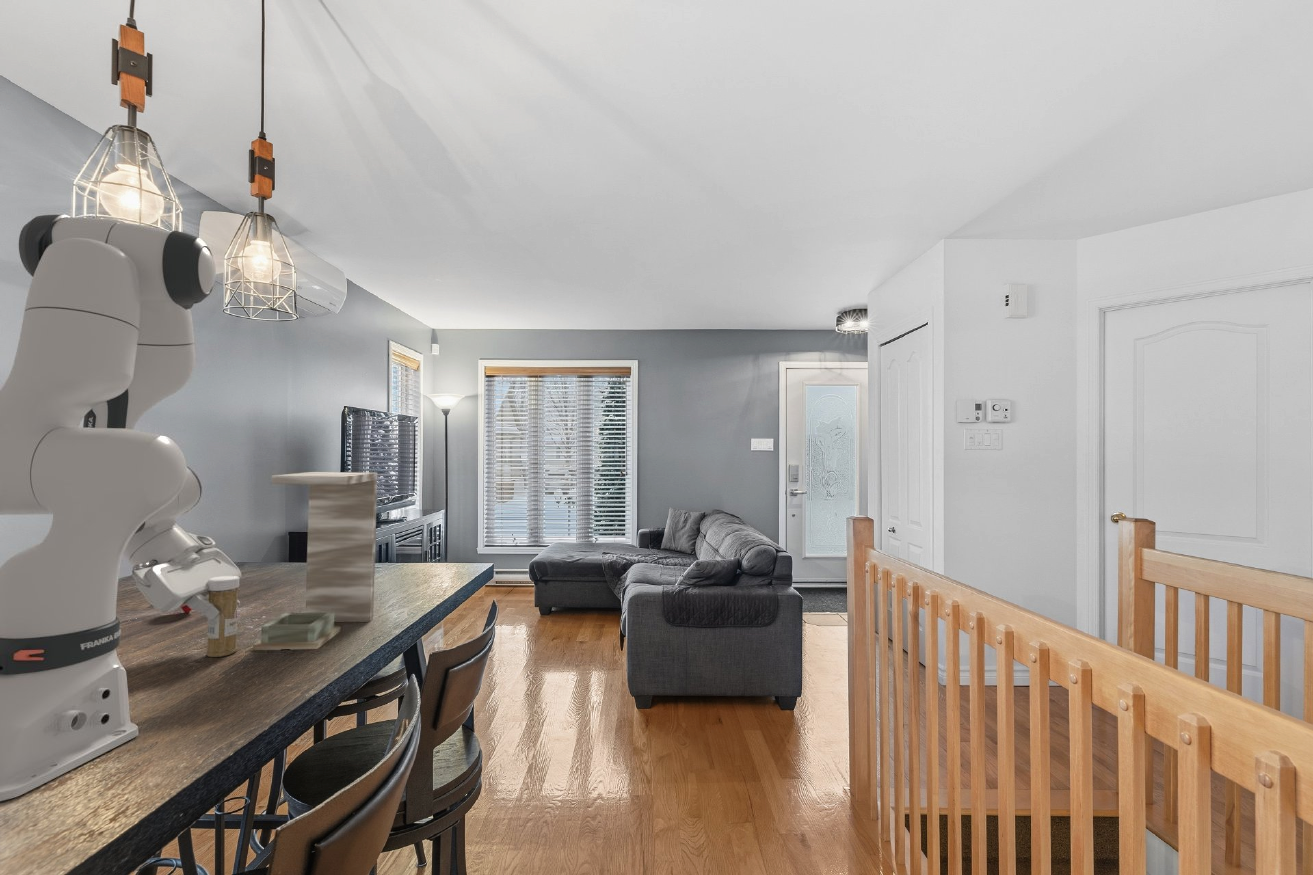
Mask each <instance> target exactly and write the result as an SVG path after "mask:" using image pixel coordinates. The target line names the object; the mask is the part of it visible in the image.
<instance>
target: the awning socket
mask: <svg viewBox="0 0 1313 875" xmlns="http://www.w3.org/2000/svg"><path fill="white" fill-rule="evenodd" d="M270 480H271V484H272V485H308V489H309V490H308V512H307V513H308V515H307V516H308V517H307V548H306V549H307V551H306V576H305V577H306V580H305V581H306V582H305V584H306V585H305V610H304V611H305V612H291V613H290V612H289V613H287V612H285V613H283V614H281V615H279V616H277V617H276V618H274V619H272V620H270V621H269V622H267V623H265V624H264V625H262V626H261V629H260V630H261V632H260V633H261V634H260V640H259V641H257V642H255V643H254V644H253V645H252V651H280V650H281V649H290V650H318V649H319V648H321V647H322V646H323V645H325V644H326V643H327V642H328V641H330V640H331V639H332V638H333V637H335V636H336V635H338V634H339V633H340V632H341V626H338V625H337V626H336V625H335V623H346V622H347V623H350V622H351V623H354V622H355V623H359V622H360V623H361V622H366V623H367V622H371V621H373V619H374V604H375V600H374V599H375V574H376V573H375V571H376V570H375V569H376V567H375V566H376V564H375V563H376V533H377V530H376V529H377V528H376V527H377V501H378V500H377V498H378V497H377V496H378V495H377V494H378V472H356V471H355V472H353V471H352V472H351V471H350V472H349V471H347V472H346V471H345V472H344V471H343V472H337V471H334V472H333V471H310V472H309V471H308V472H298V473H297V472H296V473H288V474H287V473H285V474H276V475H275V474H274V475H271V479H270Z"/></svg>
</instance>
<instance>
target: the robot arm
mask: <svg viewBox="0 0 1313 875" xmlns="http://www.w3.org/2000/svg"><path fill="white" fill-rule="evenodd" d="M211 251H212V250H211V249H210V247H209V246H208V244H206V243H205V241H204V240H202V239H201V238H200V237H198V236H194V235H193V234H190V233H186V232H183V231H179V230H173V231H169V230H165V229H161V228H157V227H151V226H147V225H143V224H138V223H137V224H136V223H131V222H126V221H124V220H118V219H116V220H115V219H109V218H97V217H80V216H78V217H72V216H70V215H67V214H44V215H38V216H35V217H34V218H32V219H31V220H30V221H28V222H27V223H25V224H24V226H23V227H22V229H21V231H20V233H19V237H18V252H19V258H20V261H21V263H22V266H23V268H24V270H26V272H27V273H28V274H29V275H30V276H31V277H32V279H31V281H30V285H29V287H28V288H29V289H28V293H27V297H26V303H25V306H24V307H25V308H24V311H23V312H24V313H23V316H22V317H23V318H22V323H21V331H20V333H19V334H20V335H19V340H18V343H17V348H16V353H15V357H14V360H13V365H12V368H11V370H10V373H9V375H8V377H7V379H6V381H5V382H4V384H3V386H2V387H1V388H0V515H1V516H2V515H3V516H4V515H8V516H9V515H12V516H13V515H19V516H20V515H52V521H51V525H50V529H49V531H48V533H47V535H46V536H45V538H44V539H43V540H42V542H40V543H38V544H35V545H34V546H31V547H29V548H25V549H23V550H21V551H20V552H18V553H16V554H15V555H13V556H11V557H10V558H9V559H7V560H6V561H5V562H4V563H3V564H2V565H1V566H0V802H4V801H6V800H10V799H13V798H17V797H19V796H22V795H23V794H26V793H28V792H30V791H32V790H34V789H36V788H38V787H40V786H42V785H45V783H48V782H51V781H52V780H53V779H55V778H57V777H59V776H62V775H64V774H65V773H67V772H69V771H71V770H74V769H75V768H77V767H79V766H81V765H83V764H85V763H87V762H89V761H91V760H93V759H94V758H97V757H98V756H101V755H102V754H105V753H107V752H108V751H111V750H112V749H114V748H116V747H118V746H120V745H122V744H124V743H126V742H129V740H132V739H134V738H136V737H138V736H139V726H138V725H137V724H135V723H133V722H131V716H130V705H129V704H130V703H129V690H128V688H129V687H128V680H127V679H128V678H127V671H126V669H125V667H124V666H123V665H122V663H121V662H120V660H119V658H118V657H119V656H118V654H117V648H118V647H119V646H120V644H121V643H120V642H121V641H120V636H121V634H122V628H121V622H120V621H121V620H120V617H118V616H117V614H116V613H117V601H118V600H117V597H118V589H119V588H118V587H119V578H120V572H121V570H120V569H121V564H122V561H123V560H122V559H123V557H124V556H125V558H126V560H127V561H128V562H129V563H130V564H131V565H132V569H131V577H132V578H133V579H134V580H135V581H136V582H135V585H136V587H137V588H138V590H139V591H140V592H141V594H142V595H143V596H144V598H145V599H146V600H147V601H148V602H149V603H150V604H151V605H152V606H153V607H154V608H155V609H156V610H157V611H160V612H161V613H166V614H167V613H169V612H171V611H174V610H177V609H180V608H181V607H182V606H185V605H187V606H189V607H190V608H191V609H192V610H193V611H195V612H198V613H200V614H203V615H204V616H205V618H207V620H208V619H210V620H211V619H214V618H216V617H218V616H219V615H220V614H221V613H222V609H221V608H219V606H217V605H216V604H215V605H212V604H211V603H209V600H206V598H207V597H209V592H208V591H209V590H208V589H209V587H208V580H209V579H211V578H214V577H220V576H237V577H239V580H240V579H241V578H242V577H243V576H242V572H241V570H240V568H239V567H238V566H237V565H236V564H235V563H234V562H233V561H232V559H231V558H230V557H228V556H227V554H225V552H223V551H222V550H221V549H219V548H216V547H214V546H216V542H215V540H214V539H212V538H211V537H210V536H205V535H200V534H199V535H198V534H193V533H191V532H186V531H185V530H184V529H183V528H182V527H181V526H180V525H178V524H177V519H178V518H180V517H181V516H183V515H185V514H186V513H188V512H189V511H191V509H193V508H194V507H196V506H197V505H198V503H199V502H200V499H201V497H202V493H203V491H202V490H203V489H202V488H203V487H202V482H201V480H200V479H199V476H198V475H197V474H196V473H195V471H194V470H193V469H192V468H190V466H188V465H187V461H186V458H185V457H186V456H185V454H184V453H183V451H182V450H181V448H180V446H179V445H178V444H177V443H176V442H175V441H174V440H173V439H171V438H170V437H168V436H165V435H161V434H158V433H157V434H156V433H152V432H149V431H148V432H146V431H142V430H135V427H136V425H137V423H138V422H139V420H140V418H141V417H142V416H143V415H144V414H146V412H148V411H149V410H150V409H151V408H152V407H154V406H156V405H157V404H158V403H160V402H161V401H163V400H165V399H166V398H168V397H170V396H172V395H174V394H176V393H177V392H179V391H180V390H181V389H182V388H184V386H186V384H187V383H189V381H190V380H191V379H192V377H193V375H194V374H193V373H194V369H195V366H196V365H195V363H196V347H195V346H196V345H195V332H194V323H193V316H192V312H191V311H192V310H191V309H192V308H193V307H194V305H196V304H199V303H201V302H203V301H204V300H205V299H206V298H207V297H209V296H210V295H211V293H212V291H213V288H214V285H215V281H216V277H217V270H216V263H215V259H214V258H213V254H212V252H211ZM82 420H83V424H82V426H81V427H79V425H80V424H81V421H82ZM240 605H241V602H240V600H239V599H238V598H237V608H238V607H239V606H240Z"/></svg>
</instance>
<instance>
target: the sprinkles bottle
mask: <svg viewBox="0 0 1313 875" xmlns="http://www.w3.org/2000/svg"><path fill="white" fill-rule="evenodd" d="M208 587H209V589H208V590H209V591H208V592H209V596H208V602H209V603H211V604H212V605H215V604H216V605H217V606H219V608H221V609H222V613H221V614H220V615H219V616H218V617H216V618H214V619H211V620H210V619H208V618H207V623H206V624H207V626H206V627H207V629H206V630H207V631H206V633H207V634H206V637H207V647H206V652H205V655H206V656H208V657H211V658H218V657H219V658H220V657H226V656H229V655H233V654H234V653H236V652H237V650H238V647H237V633H238V607H237V599H238V592H239V587H240V579H239V577H237V576H220V577H214V578H211V579H209V580H208Z"/></svg>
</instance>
